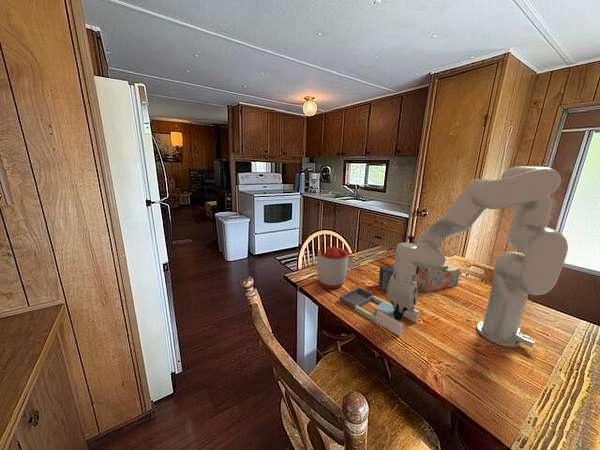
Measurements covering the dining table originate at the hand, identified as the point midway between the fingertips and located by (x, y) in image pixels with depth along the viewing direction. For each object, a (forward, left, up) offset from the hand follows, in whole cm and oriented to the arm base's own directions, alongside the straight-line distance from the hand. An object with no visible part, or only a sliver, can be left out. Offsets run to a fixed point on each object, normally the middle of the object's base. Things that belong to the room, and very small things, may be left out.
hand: (397, 318), depth 94 cm
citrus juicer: (+38, -2, -2) cm, 38 cm away
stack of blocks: (+3, -43, -2) cm, 43 cm away
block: (+5, +1, -2) cm, 5 cm away
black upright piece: (+22, -54, -2) cm, 58 cm away
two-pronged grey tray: (+10, 0, -1) cm, 10 cm away
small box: (+16, -22, -2) cm, 27 cm away
